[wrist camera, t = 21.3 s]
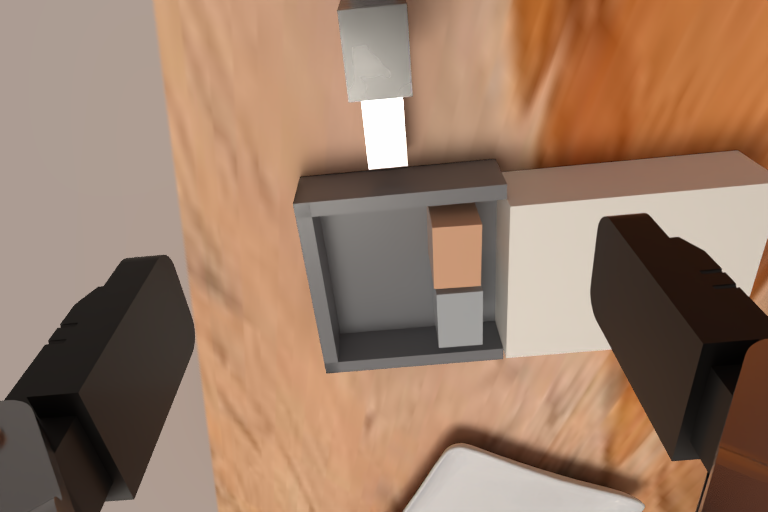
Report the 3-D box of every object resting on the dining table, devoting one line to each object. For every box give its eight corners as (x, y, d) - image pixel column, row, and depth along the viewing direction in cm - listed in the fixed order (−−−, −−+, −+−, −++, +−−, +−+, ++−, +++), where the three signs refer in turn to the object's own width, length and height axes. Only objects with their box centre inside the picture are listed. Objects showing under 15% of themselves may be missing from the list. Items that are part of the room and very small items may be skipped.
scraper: (330, -145, 29) (316, -162, 21) (389, -151, 29) (396, -171, 21) (364, 151, 37) (362, 215, 30) (409, 147, 37) (419, 210, 30)
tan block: (471, 191, 38) (426, 195, 38) (482, 224, 34) (432, 228, 34) (470, 249, 40) (428, 252, 40) (480, 286, 36) (433, 289, 36)
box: (299, 177, 38) (293, 204, 35) (495, 158, 38) (507, 184, 34) (329, 338, 45) (326, 373, 42) (493, 324, 45) (503, 358, 41)
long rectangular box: (494, 172, 38) (510, 206, 34) (737, 150, 38) (784, 181, 33) (493, 314, 44) (506, 357, 40) (701, 296, 44) (736, 339, 40)
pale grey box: (472, 254, 40) (430, 258, 41) (482, 291, 37) (436, 294, 37) (472, 305, 43) (432, 308, 43) (482, 344, 39) (438, 347, 39)
